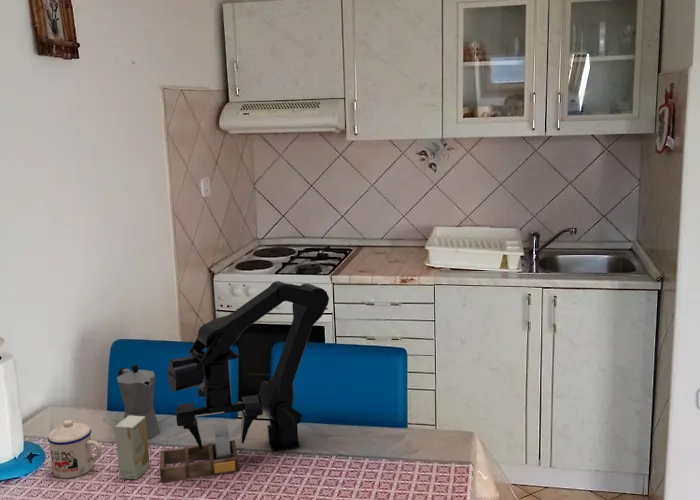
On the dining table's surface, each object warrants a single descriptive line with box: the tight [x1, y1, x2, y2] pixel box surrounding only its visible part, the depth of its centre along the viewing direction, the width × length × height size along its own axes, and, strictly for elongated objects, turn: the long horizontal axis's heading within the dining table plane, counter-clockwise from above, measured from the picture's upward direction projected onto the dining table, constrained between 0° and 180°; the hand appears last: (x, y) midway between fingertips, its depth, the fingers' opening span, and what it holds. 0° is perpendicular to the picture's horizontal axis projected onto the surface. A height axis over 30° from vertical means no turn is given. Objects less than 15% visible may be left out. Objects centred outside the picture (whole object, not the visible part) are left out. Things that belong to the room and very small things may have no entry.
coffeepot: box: [116, 364, 161, 440], centre depth 173 cm, size 15×9×18 cm, turn 44°
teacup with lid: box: [47, 419, 103, 479], centre depth 156 cm, size 12×9×12 cm
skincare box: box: [114, 415, 151, 480], centre depth 154 cm, size 6×4×12 cm
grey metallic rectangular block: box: [213, 423, 232, 460], centre depth 157 cm, size 3×6×8 cm, turn 14°
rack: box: [159, 439, 240, 484], centre depth 156 cm, size 17×10×3 cm, turn 104°
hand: (222, 445), depth 157 cm, fingers open, 9 cm apart
